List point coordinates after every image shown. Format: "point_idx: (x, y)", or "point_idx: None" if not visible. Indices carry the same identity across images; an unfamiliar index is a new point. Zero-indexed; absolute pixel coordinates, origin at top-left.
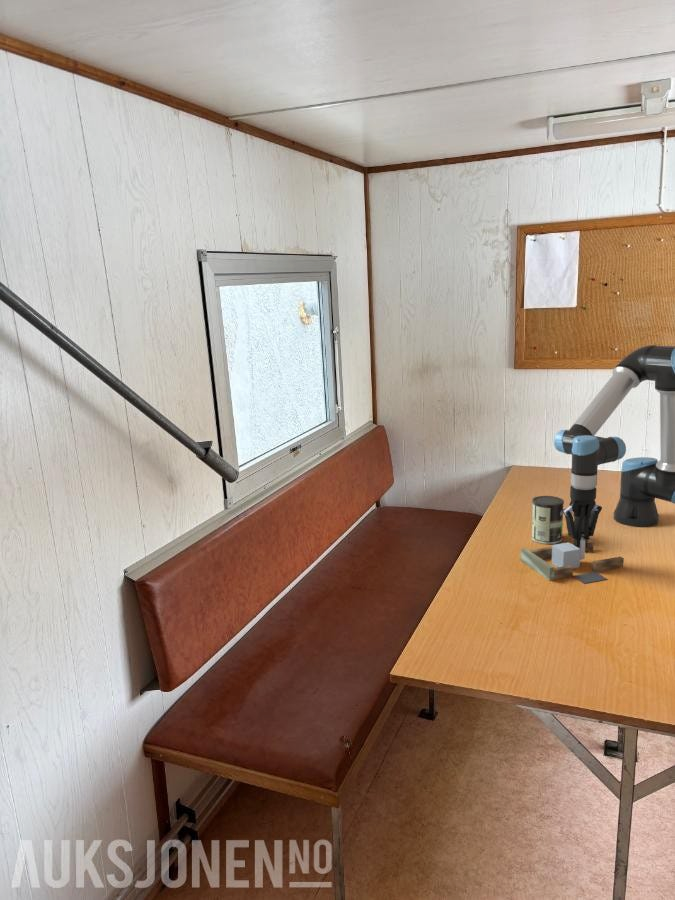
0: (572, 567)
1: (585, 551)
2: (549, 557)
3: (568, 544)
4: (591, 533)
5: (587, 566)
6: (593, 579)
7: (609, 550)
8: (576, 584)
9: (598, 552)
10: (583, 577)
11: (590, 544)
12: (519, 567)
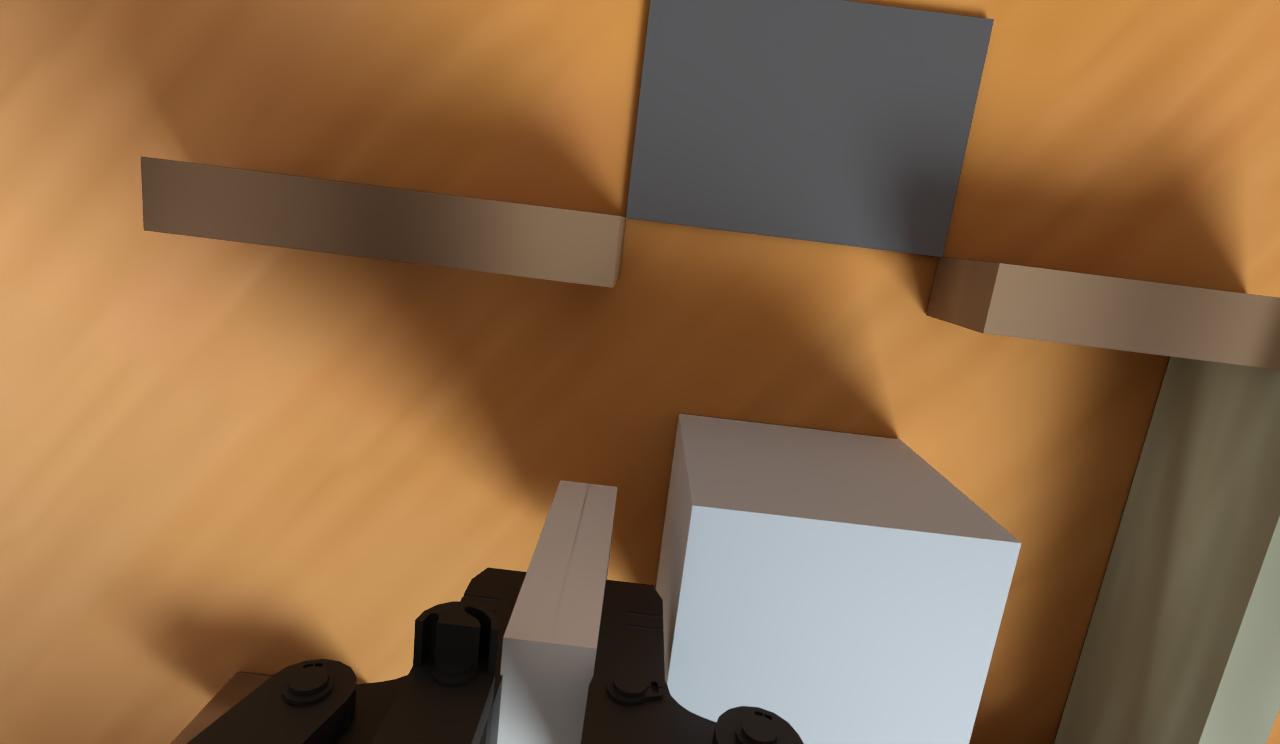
0: (1005, 265)
1: None
2: None
3: None
4: (307, 707)
5: (586, 388)
6: (814, 47)
7: (71, 595)
8: (1076, 56)
9: (217, 610)
10: (873, 155)
11: None
12: None
